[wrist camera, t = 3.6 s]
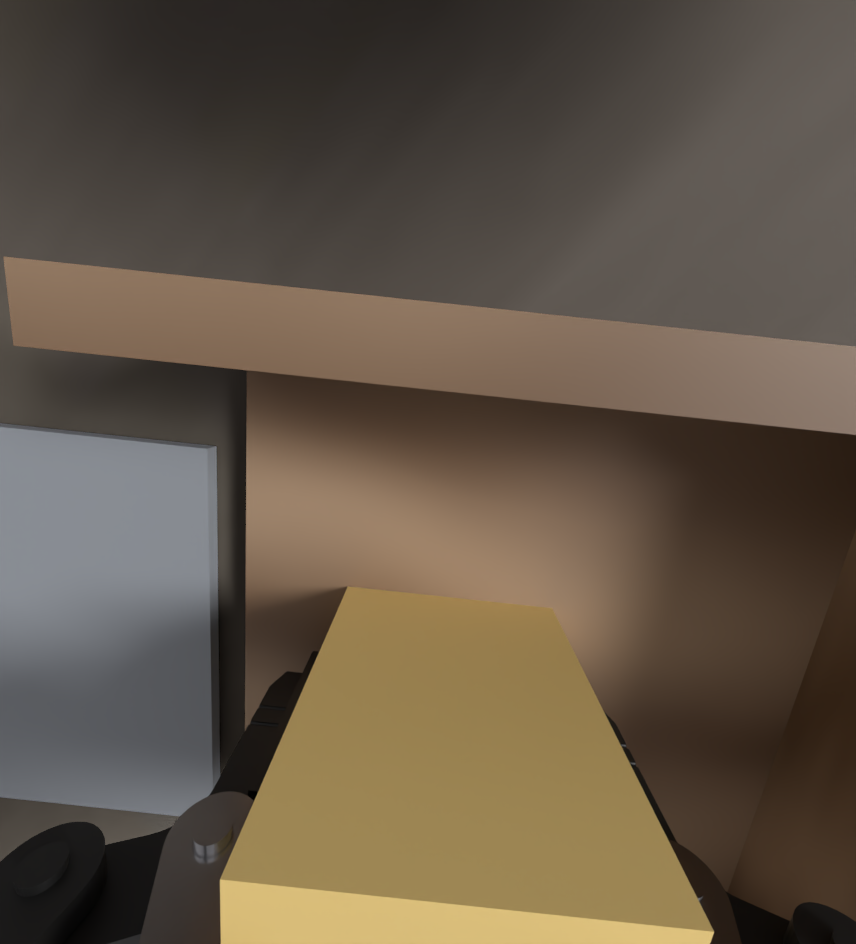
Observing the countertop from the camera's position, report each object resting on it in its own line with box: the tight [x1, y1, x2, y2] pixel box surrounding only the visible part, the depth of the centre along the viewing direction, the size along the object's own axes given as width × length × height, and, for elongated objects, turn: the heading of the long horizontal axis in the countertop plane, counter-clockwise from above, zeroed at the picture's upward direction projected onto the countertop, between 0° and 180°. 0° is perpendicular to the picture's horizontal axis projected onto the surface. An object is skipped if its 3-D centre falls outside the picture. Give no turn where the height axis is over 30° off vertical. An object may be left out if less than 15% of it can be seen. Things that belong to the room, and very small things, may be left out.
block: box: [220, 587, 714, 944], centre depth 8 cm, size 5×5×6 cm
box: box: [4, 257, 856, 921], centre depth 8 cm, size 17×15×6 cm
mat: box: [0, 423, 220, 816], centre depth 11 cm, size 11×9×1 cm
